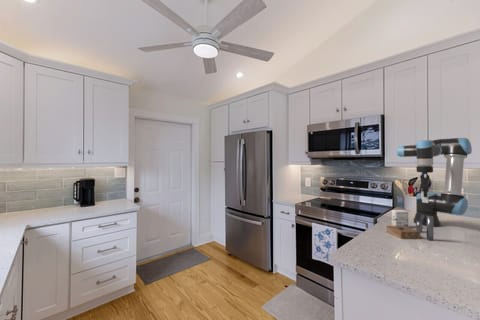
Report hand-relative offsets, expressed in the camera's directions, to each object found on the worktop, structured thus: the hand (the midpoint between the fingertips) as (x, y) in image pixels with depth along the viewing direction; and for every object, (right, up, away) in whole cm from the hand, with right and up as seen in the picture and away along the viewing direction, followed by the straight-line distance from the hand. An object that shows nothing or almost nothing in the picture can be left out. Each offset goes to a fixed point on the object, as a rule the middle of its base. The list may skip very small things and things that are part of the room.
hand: (424, 200), depth 126 cm
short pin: (+7, -23, +13) cm, 27 cm away
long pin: (+2, -23, -2) cm, 23 cm away
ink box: (+2, -23, +22) cm, 32 cm away
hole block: (-8, -23, +6) cm, 25 cm away
